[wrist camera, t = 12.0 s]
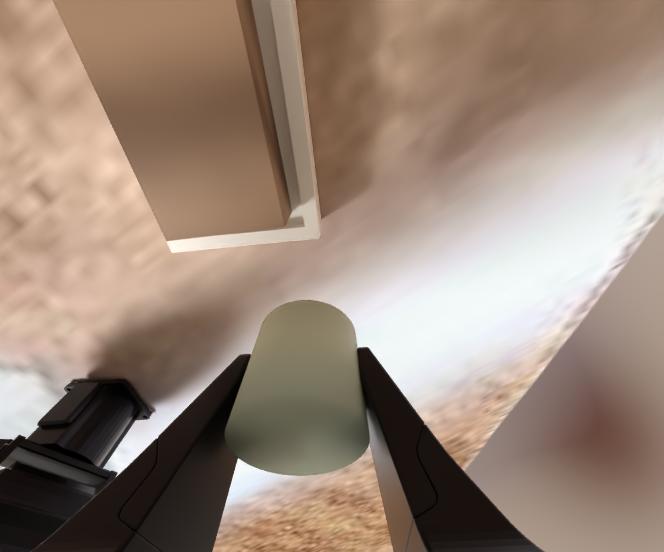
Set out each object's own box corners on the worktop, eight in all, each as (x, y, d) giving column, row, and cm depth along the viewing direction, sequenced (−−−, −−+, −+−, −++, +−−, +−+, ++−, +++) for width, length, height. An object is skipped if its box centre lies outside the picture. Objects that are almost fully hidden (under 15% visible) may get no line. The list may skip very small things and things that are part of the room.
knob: (356, 368, 11) (369, 472, 8) (270, 374, 11) (244, 478, 8) (354, 296, 9) (370, 391, 6) (250, 303, 9) (204, 401, 6)
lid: (292, 211, 15) (284, 227, 12) (194, 223, 15) (166, 241, 12) (250, -2, 10) (224, -50, 8) (114, 19, 11) (43, -20, 8)
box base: (321, 220, 18) (319, 238, 15) (199, 232, 18) (171, 252, 15) (293, -21, 12) (280, -80, 9) (114, 2, 12) (36, -47, 9)
